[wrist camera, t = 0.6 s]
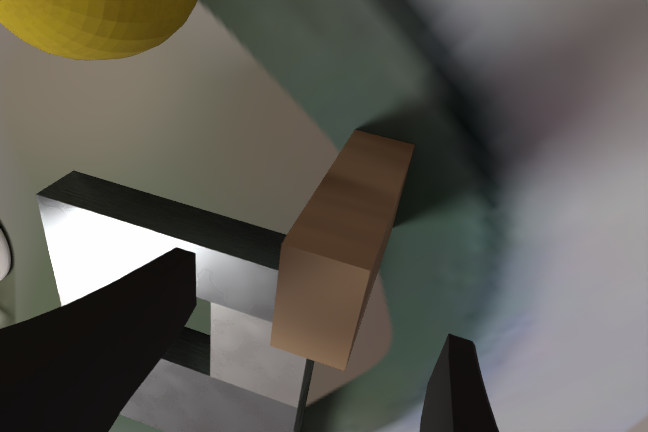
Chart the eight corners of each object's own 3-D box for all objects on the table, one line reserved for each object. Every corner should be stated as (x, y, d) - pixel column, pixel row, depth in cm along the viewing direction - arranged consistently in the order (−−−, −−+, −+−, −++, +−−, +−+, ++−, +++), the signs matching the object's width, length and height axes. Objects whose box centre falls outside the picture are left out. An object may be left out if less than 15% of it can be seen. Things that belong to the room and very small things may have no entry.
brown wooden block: (392, 228, 21) (344, 371, 15) (339, 212, 21) (269, 345, 15) (414, 144, 19) (370, 270, 12) (354, 129, 19) (281, 243, 13)
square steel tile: (298, 441, 32) (284, 478, 30) (108, 370, 34) (83, 399, 32) (336, 249, 23) (320, 283, 20) (73, 170, 25) (35, 194, 23)
